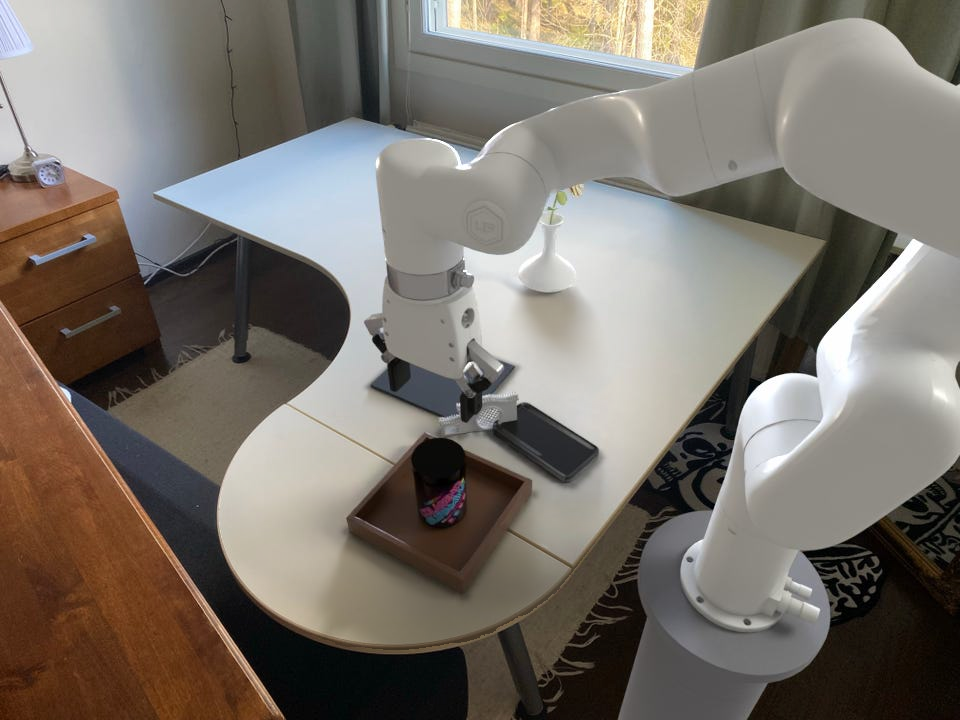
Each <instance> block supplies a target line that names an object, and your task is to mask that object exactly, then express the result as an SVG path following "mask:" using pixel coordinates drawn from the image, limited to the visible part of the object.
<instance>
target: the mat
mask: <svg viewBox="0 0 960 720" xmlns="http://www.w3.org/2000/svg"><path fill="white" fill-rule="evenodd" d="M497 360H498V361H499V362H500V363H501V364H503V366H504V370H503V372H502V373H501V374H500V375H499V377H498V378H497V379H496V380H495V382H494V383H493V384H492V385H491V386H490V387H489V388H488V389H487V390H485V391H482V396H485V395H488V394H490V395H491V394H492V395H494V392H495V391H496V390H497V389H498V388H499V387H500V386H501V385H502V383H503V382H504V381H505V380H506V379H507V377H508V376H509V375H510V374H511V373H512V372H513V370H514V369H515V368H516V366H515V365H514V364H511V363H508V362H506V361H502V360H500V359H497ZM478 367H479V366H478ZM479 368H480V370H481V371H482V373H483V374H484V373H485V372H484V370H483V369H482V368H481V367H479ZM410 373H411V378H410V380H409V381H408V382H406V383H405V384H404V385H403V386H402V387H401V388H400V389H399V390H398V391H397V392H393V391H391V390H390V384H389V376H388V368H387V369H386V370H385V371H383V372H382V374H380V375H379V376H378V377H377V378H376V379H375V380H373V382H372V383H370V387H371V388H373V389H376V390H378V391H380V392H383V393H385V394H387V395H390V396H392V397H395V398H397V399H400V401H401V400H402V401H404V402H407V403H408V404H411V405H412V406H416V407H418V408H420V409H423V410H425V411H427V412H429V413H432V414H435V415H436V416H439V417H440V418H442V417H443V419H444V417H445V418H446V417H448V418H449V416H450V417H452V416H453V417H454V415H455V416H456V414H457V415H459V412H458V411H457V407H456V405H457V404H458V405H459V403H460V395H461V394H462V393H463V391H462V389H461V388H460V386H459V385H458V384H457V382H456V381H455V379H451V378H447V377H444V376H441V375H439V374H436V373H434V372H431V371H429V370H426V369H424V368H421V367H419V366H416V365H414V364H411V363H410ZM465 376H466V377H467V379H468V380H469V381H470V382H471V381H472V379H473V377H472V376H471V374H470V373H469V372H468V371H467V372H466V373H465ZM456 403H457V404H456ZM451 415H452V416H451Z"/></svg>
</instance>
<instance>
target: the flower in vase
mask: <svg viewBox="0 0 960 720" xmlns="http://www.w3.org/2000/svg"><path fill="white" fill-rule="evenodd" d="M566 190H568V193H570V194H571V196H572V198H575V197H576V198H578V197H582V196H583V193H582V190H583V191H584V190H585V185H584V183H583V184H580V185H577V186H573V187H570V188H567V189H566ZM567 201H568V195H567V193H566V192H565V191H564V190H562V191H559V192H556V193H555V198H554V201H553V206H552V207H551V206H548V207H547V208H546V209H545V208H544V211H551V212H543V213H542V215H541V217H540V219H539V221H538V224H540V226H541V229H542V234H543V235H542V237H543V245H542V250H541V252H540V253H538V254H537V255H534V256H533V257H531V258H529V259H527V260H526V261H525V262H523V264H522V265H521V266H520V268H519V270H518V273H517V274H518V279H519V280H520V282H521V283H522V284H523V285H524V286H525V287H526V288H529V290H532V291H535V292H541V293H558V292H562V291H564V290H567V289H569V288H570V287H571V286H572V285H573V284H574V283H575V282H576V281H577V271H576V269H575V268H574V266H573V265H572V264H571V263H570V262H569V261H568V260H566V259H565V258H563V257H562V256H560V255H558V253H557V251H556V240H557V234H558V231H559V229H560V227H561V226H562V224H564V222H565V221H566V219H565V217H564V216H563V215H561V214H560V213H558V212H557V213H556V212H555V211H557V210H558V209H559V208H558V207H556V205H557V203H558V204H559V205H561V206H564V205H565V204H567Z"/></svg>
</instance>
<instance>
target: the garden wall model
mask: <svg viewBox="0 0 960 720" xmlns="http://www.w3.org/2000/svg"><path fill="white" fill-rule="evenodd" d="M519 400H520V398H519V394H518V393H517V392H516V391H514V392H511V393H507V394H505V395H504V394H497V393H493V394H491V395H490V394H488V395H485V396H482V408H481V410H480V412H479V413H478V414H477V415H474V416H473V417H472V418H471V419H470V420H469V421H468V422H467V423H465V422H462V420H461V413H460V403H459V405H458V404H457V403H456V404H457V405H456V407H457V411H458V412H459V415H457V414H456V416H455V415H454V417H453V416H452V415H451V416H452V417H450V416H449V418H448V417H446V418H445V417H444V418H443V417H441V416H439V417H438V422H439V426H440V429H441V434H442V438H447V437H451V436H456V435H461V434H466V433H467V434H468V433H472V432H477V431H492V430H493V423H494V422H495V421H496V420H498V424H501V423H502V422H508V421H513V420H517V405H518V401H519Z"/></svg>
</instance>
